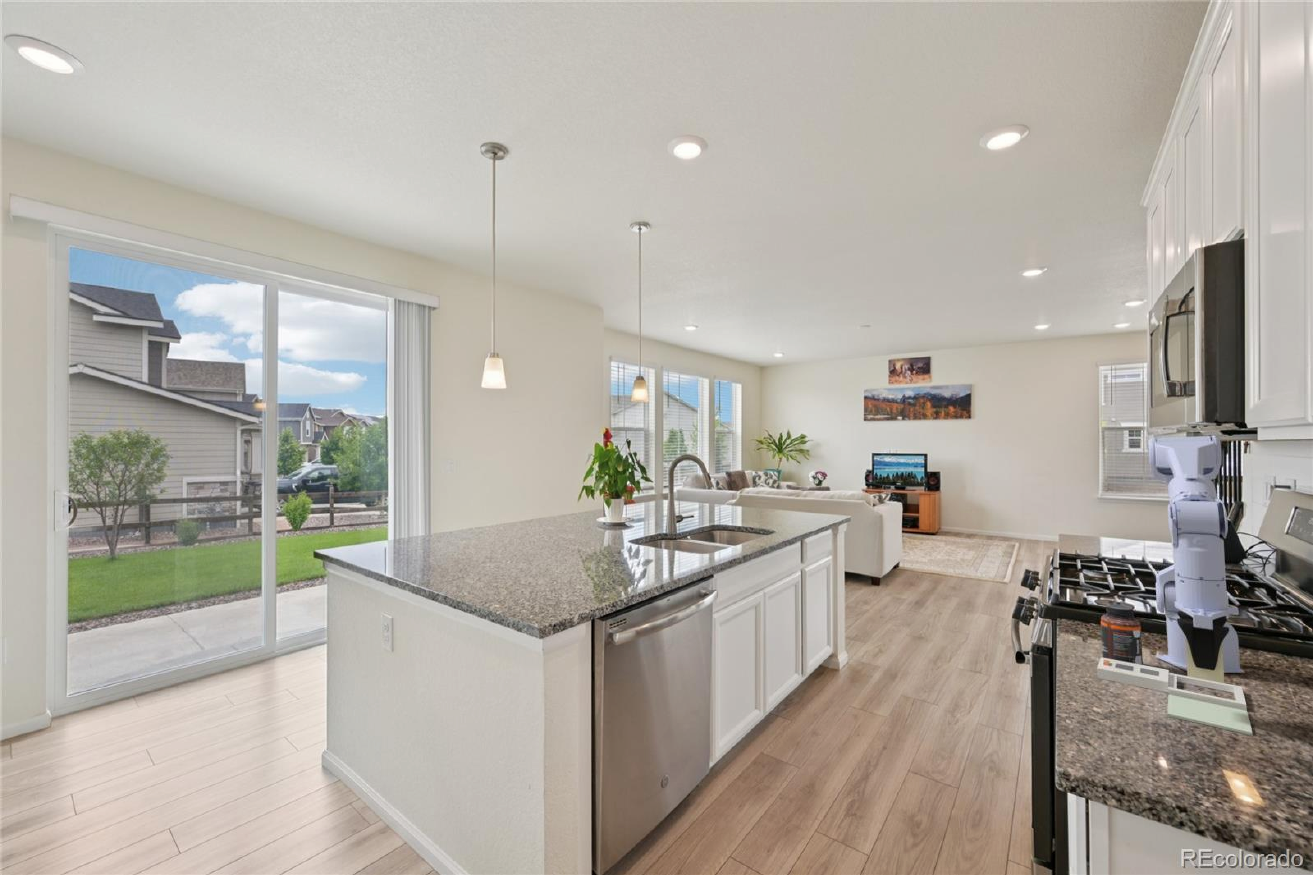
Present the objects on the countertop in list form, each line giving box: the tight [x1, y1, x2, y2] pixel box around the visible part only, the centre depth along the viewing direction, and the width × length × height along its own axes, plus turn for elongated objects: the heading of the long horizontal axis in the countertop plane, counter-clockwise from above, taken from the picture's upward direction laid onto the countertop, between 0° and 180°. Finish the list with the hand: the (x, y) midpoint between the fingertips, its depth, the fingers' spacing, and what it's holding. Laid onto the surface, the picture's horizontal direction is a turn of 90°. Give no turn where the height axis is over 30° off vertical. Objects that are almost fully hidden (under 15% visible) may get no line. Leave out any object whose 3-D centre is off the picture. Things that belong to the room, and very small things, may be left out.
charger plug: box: [1185, 636, 1225, 683], centre depth 85 cm, size 4×4×6 cm
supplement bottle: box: [1100, 603, 1144, 665], centre depth 105 cm, size 6×6×11 cm
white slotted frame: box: [1096, 656, 1248, 712], centre depth 96 cm, size 18×9×2 cm, turn 46°
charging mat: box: [1166, 694, 1253, 737], centre depth 85 cm, size 9×9×1 cm
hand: (1204, 664), depth 85 cm, fingers closed on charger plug, 4 cm apart
